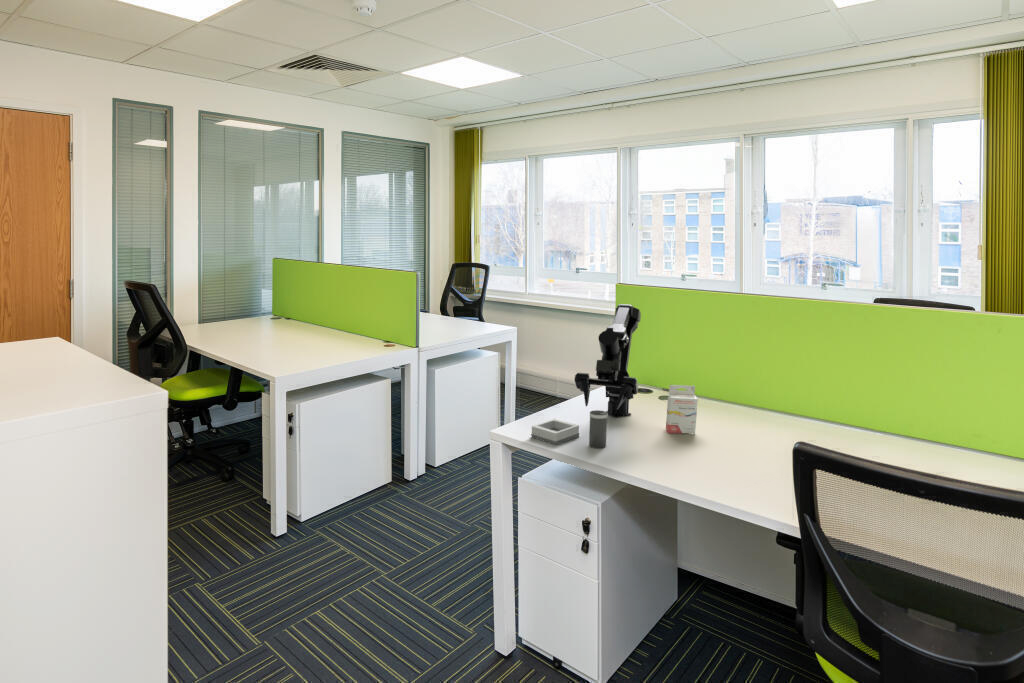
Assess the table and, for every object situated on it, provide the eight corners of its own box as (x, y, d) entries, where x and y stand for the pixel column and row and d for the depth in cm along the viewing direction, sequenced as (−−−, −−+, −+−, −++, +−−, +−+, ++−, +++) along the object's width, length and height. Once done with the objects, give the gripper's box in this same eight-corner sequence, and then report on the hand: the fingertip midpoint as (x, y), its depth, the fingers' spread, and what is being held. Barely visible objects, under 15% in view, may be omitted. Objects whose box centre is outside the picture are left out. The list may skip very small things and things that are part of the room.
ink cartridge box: (667, 433, 193) (670, 388, 191) (665, 428, 198) (668, 384, 195) (695, 434, 192) (698, 389, 190) (692, 429, 197) (695, 385, 195)
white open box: (554, 429, 196) (554, 418, 196) (579, 436, 190) (579, 425, 189) (531, 437, 189) (531, 426, 188) (556, 444, 182) (556, 433, 181)
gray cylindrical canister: (599, 441, 185) (600, 409, 183) (609, 446, 181) (611, 414, 179) (585, 444, 183) (586, 411, 181) (595, 449, 178) (596, 416, 176)
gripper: (576, 346, 188) (566, 390, 180) (638, 351, 182) (630, 396, 174) (582, 367, 197) (572, 409, 189) (640, 372, 191) (633, 415, 182)
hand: (601, 407), depth 183 cm, fingers open, 9 cm apart
